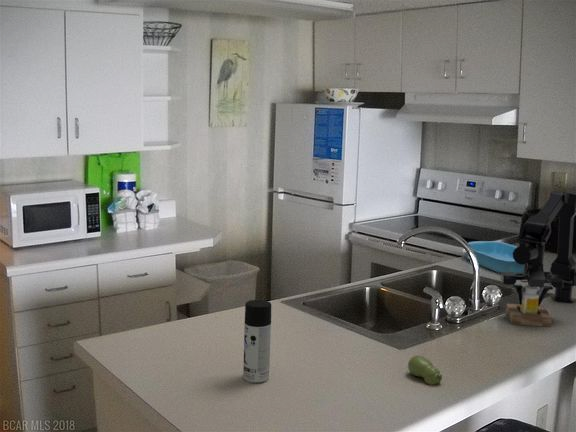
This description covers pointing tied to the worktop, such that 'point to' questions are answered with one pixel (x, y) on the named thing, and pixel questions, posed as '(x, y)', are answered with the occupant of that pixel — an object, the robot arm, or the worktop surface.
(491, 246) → the casserole dish
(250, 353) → the spray can
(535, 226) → the robot arm
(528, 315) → the walnut jig
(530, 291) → the supplement bottle
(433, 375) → the pear
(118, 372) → the worktop surface
